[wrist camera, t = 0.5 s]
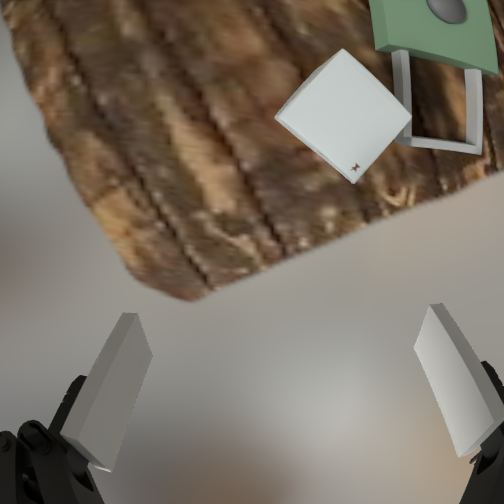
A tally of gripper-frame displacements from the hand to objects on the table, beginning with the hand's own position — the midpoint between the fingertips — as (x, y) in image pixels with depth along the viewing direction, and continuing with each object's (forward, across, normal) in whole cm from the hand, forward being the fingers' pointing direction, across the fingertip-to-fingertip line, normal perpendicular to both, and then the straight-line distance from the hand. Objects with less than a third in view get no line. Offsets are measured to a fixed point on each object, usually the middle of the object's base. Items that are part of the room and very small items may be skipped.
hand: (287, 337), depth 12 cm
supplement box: (+24, +5, +9) cm, 26 cm away
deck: (+24, +20, +17) cm, 35 cm away
